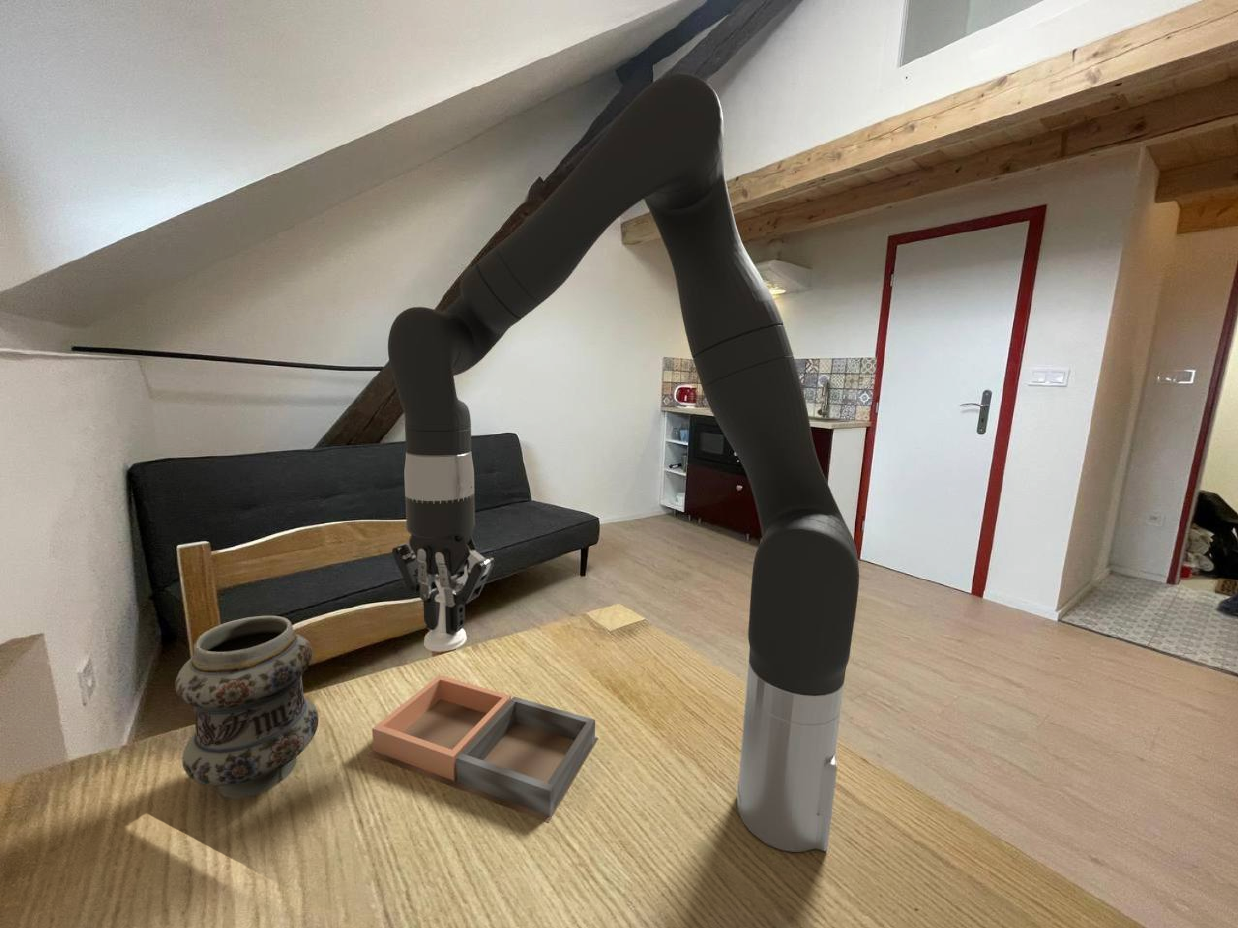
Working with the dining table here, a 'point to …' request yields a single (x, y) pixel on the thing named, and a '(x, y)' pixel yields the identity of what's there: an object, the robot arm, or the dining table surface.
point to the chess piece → (443, 629)
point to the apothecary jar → (247, 705)
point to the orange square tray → (409, 747)
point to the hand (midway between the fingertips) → (444, 628)
